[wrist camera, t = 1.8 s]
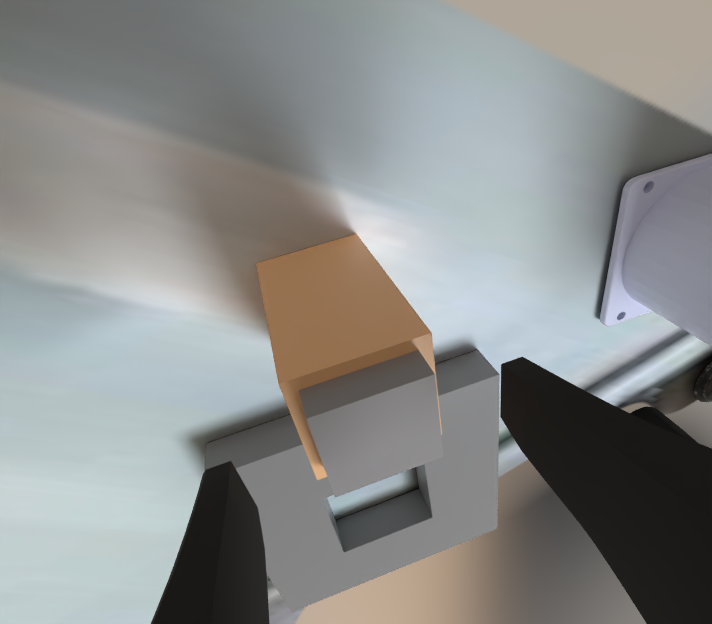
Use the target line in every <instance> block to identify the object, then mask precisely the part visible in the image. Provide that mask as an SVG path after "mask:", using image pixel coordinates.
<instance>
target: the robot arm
mask: <svg viewBox="0 0 712 624" xmlns="http://www.w3.org/2000/svg"><path fill="white" fill-rule="evenodd" d="M645 185H646V186H645ZM644 186H645V187H644ZM652 311H654V312H655V313H657V314H659V315H660V316H662V317H664V318H665V319H667V320H669V321H670V322H672V323H674V324H675V325H677V326H679V327H680V328H682V329H684V330H685V331H687V332H689V333H690V334H692V335H694V336H695V337H697V338H699V339H700V340H702V341H704V342H705V343H707V344H709V345H710V346H712V153H711V154H708V155H705V156H702V157H698V158H695V159H692V160H688V161H685V162H682V163H679V164H675V165H672V166H669V167H665V168H662V169H659V170H655V171H652V172H649V173H646V174H642V175H639V176H636V177H633V178H631V179H630V180H629V181H628V182H627V183H626V184H625V186H624V188H623V192H622V197H621V203H620V208H619V214H618V220H617V225H616V231H615V236H614V242H613V247H612V253H611V259H610V264H609V270H608V275H607V281H606V286H605V292H604V298H603V303H602V309H601V314H600V322H601V323H602V324H604V325H605V326H612V325H615V324H618V323H620V322H623V321H626V320H629V319H632V318H635V317H637V316H640V315H643V314H646V313H649V312H652ZM501 418H502V420H503V421H504V423H505V425H506V426H507V428H508V430H509V431H510V433H511V435H512V436H513V438H514V439H515V441H516V443H517V444H518V446H519V447H520V449H521V450H522V452H523V453H524V454H525V456H526V457H527V458H528V459H529V461H530V462H531V463H532V464H533V466H534V467H535V468H536V469H537V471H538V472H539V473H540V475H541V476H542V477H543V478H544V480H545V481H546V482H547V483H548V485H549V486H550V487H551V488H552V489H553V491H554V492H555V493H556V494H557V496H558V497H559V498H560V499H561V501H562V502H563V503H564V504H565V506H566V507H567V508H568V509H569V511H570V512H571V513H572V514H573V516H574V517H575V518H576V519H577V521H578V522H579V523H580V524H581V526H582V527H583V528H584V530H585V531H586V532H587V534H588V535H589V536H590V538H591V539H592V541H593V542H594V543H595V545H596V546H597V548H598V549H599V551H600V552H601V554H602V555H603V557H604V558H605V560H606V561H607V563H608V564H609V566H610V567H611V569H612V570H613V572H614V573H615V575H616V576H617V578H618V579H619V581H620V582H621V584H622V586H623V587H624V588H625V590H626V592H627V593H628V595H629V596H630V598H631V600H632V601H633V603H634V604H635V606H636V607H637V609H638V611H639V612H640V614H641V615H642V617H643V618H644V620H645V621H646V623H647V624H712V449H711V448H709V447H706V446H704V445H701V444H699V443H696V442H694V441H691V440H689V439H686V438H684V437H681V436H679V435H676V434H674V433H672V432H669V431H667V430H665V429H662V428H660V427H658V426H656V425H654V424H651V423H649V422H647V421H645V420H643V419H640V418H638V417H636V416H634V415H632V414H630V413H627V412H626V411H624V410H621V409H619V408H617V407H615V406H613V405H611V404H609V403H607V402H605V401H603V400H602V399H600V398H598V397H596V396H594V395H592V394H590V393H588V392H586V391H584V390H582V389H580V388H579V387H577V386H575V385H573V384H571V383H569V382H567V381H566V380H564V379H562V378H560V377H558V376H556V375H555V374H553V373H551V372H549V371H547V370H546V369H544V368H542V367H540V366H538V365H537V364H535V363H533V362H531V361H529V360H527V359H525V358H524V357H520V358H517V359H515V360H512V361H509V362H506V363H503V364H501ZM151 624H269V610H268V591H267V574H266V558H265V547H264V541H263V534H262V528H261V522H260V517H259V511H258V507H257V505H256V503H255V502H254V500H253V498H252V496H251V495H250V493H249V491H248V489H247V488H246V486H245V484H244V482H243V481H242V479H241V477H240V475H239V474H238V472H237V470H236V468H235V467H234V465H233V463H232V461H229V462H226V463H223V464H220V465H217V466H215V467H212V468H209V469H206V470H205V472H204V473H203V476H202V480H201V483H200V487H199V490H198V494H197V497H196V501H195V504H194V507H193V510H192V514H191V517H190V520H189V523H188V526H187V529H186V532H185V535H184V538H183V541H182V544H181V546H180V549H179V552H178V555H177V558H176V561H175V564H174V566H173V569H172V572H171V575H170V577H169V580H168V582H167V585H166V587H165V590H164V592H163V595H162V597H161V600H160V602H159V605H158V607H157V610H156V612H155V615H154V617H153V620H152V622H151Z"/></svg>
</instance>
